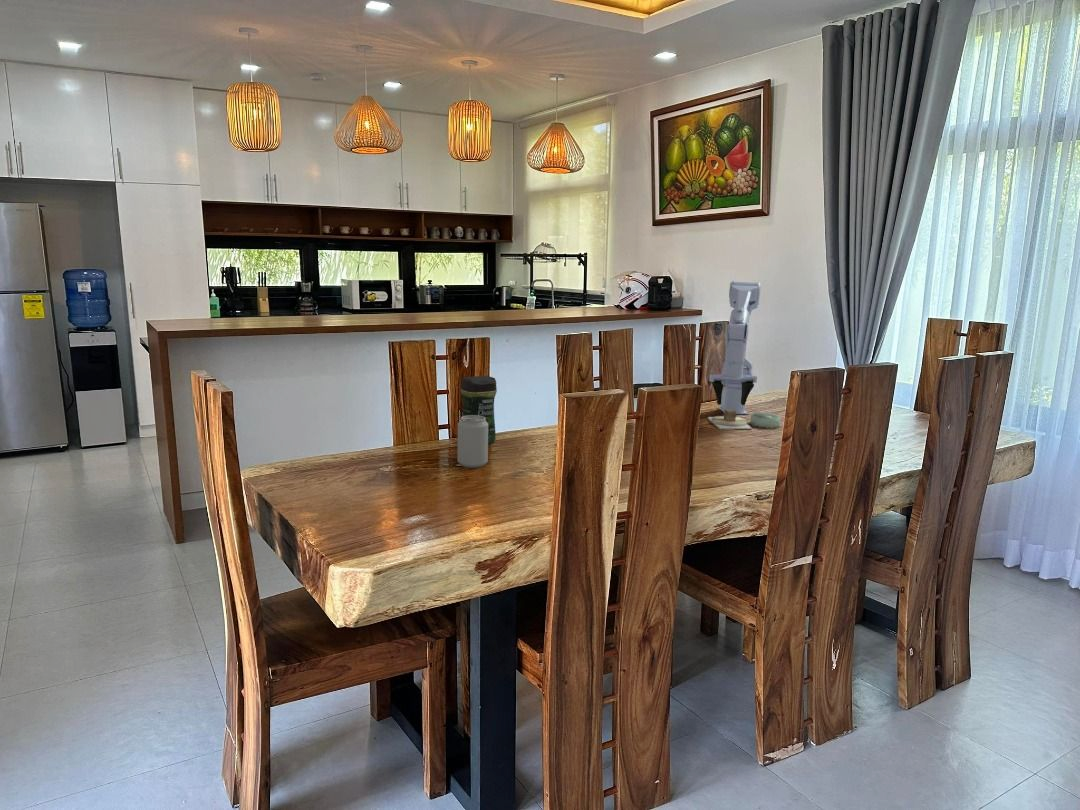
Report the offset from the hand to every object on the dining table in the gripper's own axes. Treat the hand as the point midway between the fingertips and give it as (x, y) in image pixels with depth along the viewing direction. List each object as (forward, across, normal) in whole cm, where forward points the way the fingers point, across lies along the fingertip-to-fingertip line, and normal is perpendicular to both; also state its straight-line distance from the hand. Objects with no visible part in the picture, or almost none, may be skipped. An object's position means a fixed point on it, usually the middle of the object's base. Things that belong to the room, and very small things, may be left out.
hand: (730, 404), depth 231 cm
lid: (+6, 0, 0) cm, 6 cm away
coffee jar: (+6, -78, -28) cm, 83 cm away
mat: (+6, 0, 0) cm, 6 cm away
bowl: (+6, +11, 0) cm, 13 cm away
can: (+6, -79, -48) cm, 93 cm away
